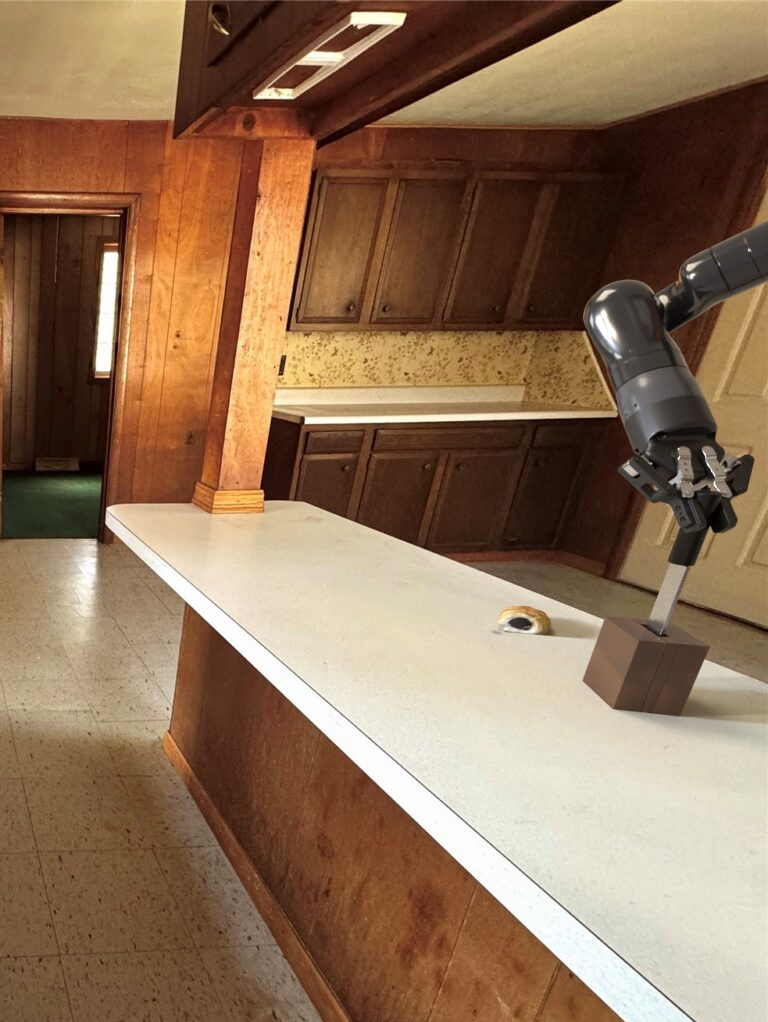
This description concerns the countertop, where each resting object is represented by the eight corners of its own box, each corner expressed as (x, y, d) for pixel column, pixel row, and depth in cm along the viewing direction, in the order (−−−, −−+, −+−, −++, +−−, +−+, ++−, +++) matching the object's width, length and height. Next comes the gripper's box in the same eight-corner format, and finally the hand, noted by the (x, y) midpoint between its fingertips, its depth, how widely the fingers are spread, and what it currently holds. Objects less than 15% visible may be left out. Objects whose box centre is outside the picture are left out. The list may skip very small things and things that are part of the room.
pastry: (506, 613, 118) (512, 593, 117) (554, 624, 113) (561, 604, 112) (493, 629, 112) (499, 608, 111) (543, 641, 108) (550, 620, 106)
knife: (657, 633, 87) (712, 489, 80) (671, 642, 84) (730, 495, 77) (634, 631, 88) (687, 489, 81) (647, 641, 85) (703, 494, 78)
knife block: (641, 692, 92) (669, 620, 88) (677, 722, 85) (710, 646, 81) (579, 686, 94) (605, 616, 90) (610, 715, 87) (639, 640, 83)
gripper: (624, 394, 83) (671, 514, 76) (753, 391, 81) (812, 514, 74) (581, 431, 90) (620, 544, 83) (699, 429, 88) (749, 545, 81)
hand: (711, 529), depth 78 cm, fingers closed on knife, 2 cm apart
